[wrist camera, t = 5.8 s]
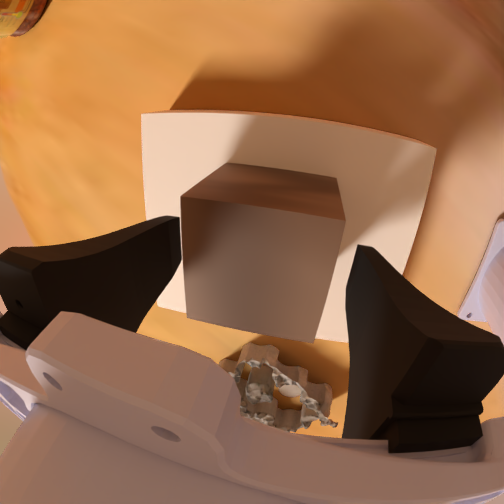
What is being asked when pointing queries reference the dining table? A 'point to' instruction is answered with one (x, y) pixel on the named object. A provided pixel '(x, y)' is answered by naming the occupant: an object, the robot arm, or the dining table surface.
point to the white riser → (296, 159)
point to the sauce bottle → (19, 16)
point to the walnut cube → (261, 249)
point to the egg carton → (290, 384)
